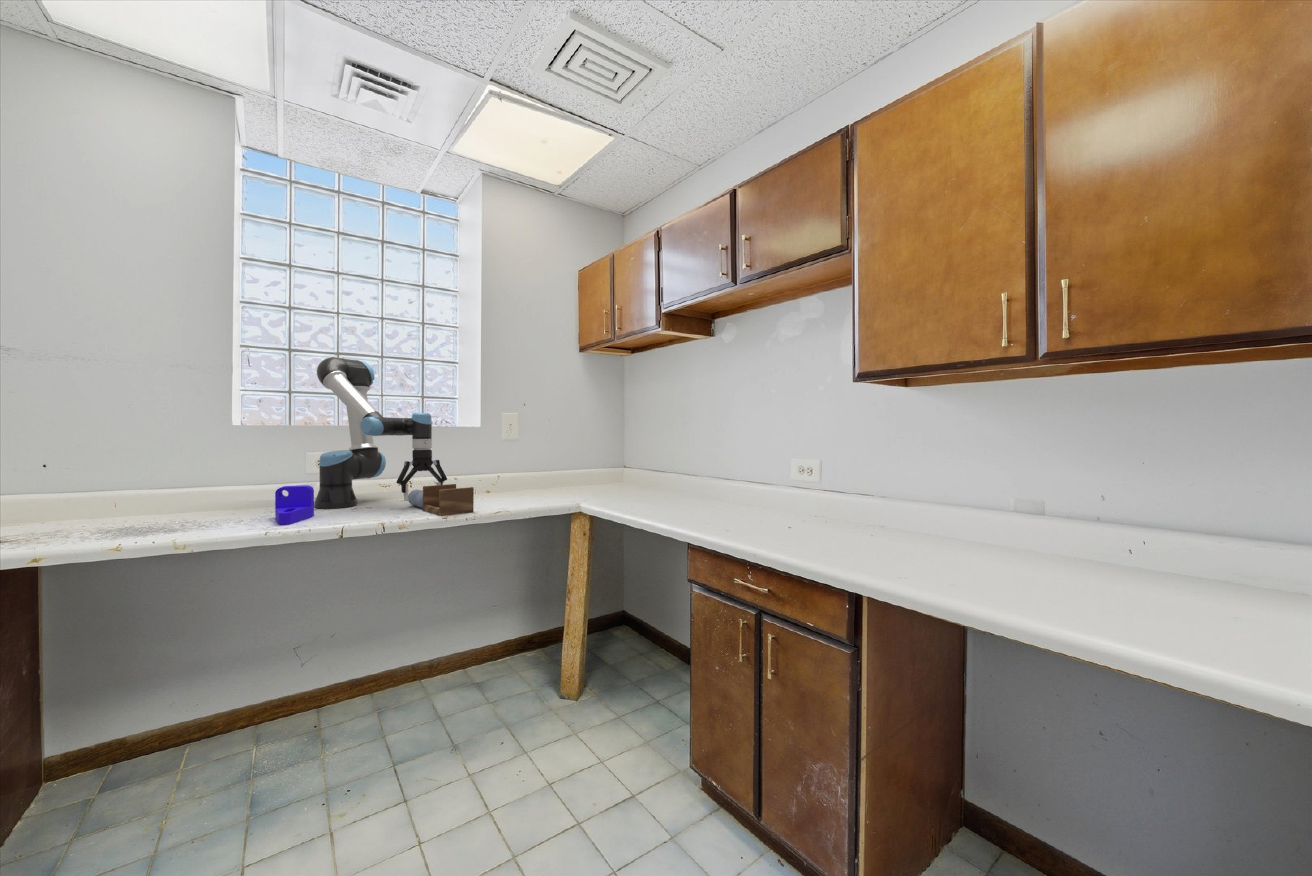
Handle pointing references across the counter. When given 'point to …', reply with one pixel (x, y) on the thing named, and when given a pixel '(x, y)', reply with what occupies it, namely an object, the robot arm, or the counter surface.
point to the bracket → (294, 504)
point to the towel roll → (416, 498)
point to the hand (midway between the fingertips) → (422, 499)
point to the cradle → (447, 499)
